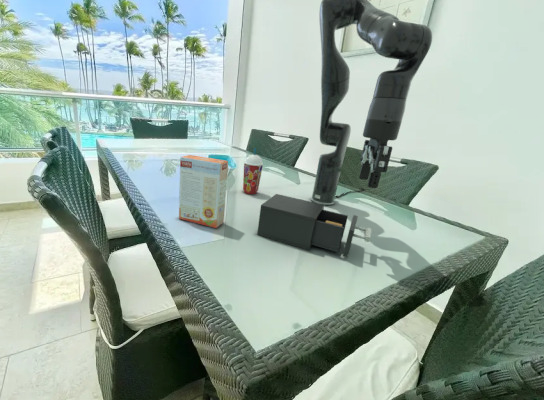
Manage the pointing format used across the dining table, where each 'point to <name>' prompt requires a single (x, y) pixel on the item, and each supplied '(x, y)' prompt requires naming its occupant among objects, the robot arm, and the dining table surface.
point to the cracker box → (202, 190)
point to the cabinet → (289, 220)
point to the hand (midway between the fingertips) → (367, 183)
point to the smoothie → (252, 173)
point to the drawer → (335, 231)
